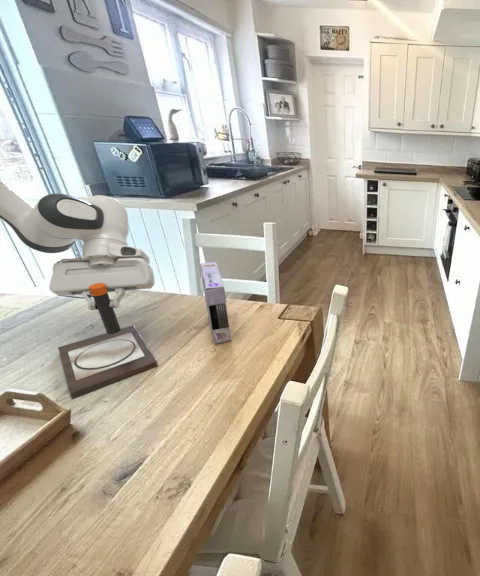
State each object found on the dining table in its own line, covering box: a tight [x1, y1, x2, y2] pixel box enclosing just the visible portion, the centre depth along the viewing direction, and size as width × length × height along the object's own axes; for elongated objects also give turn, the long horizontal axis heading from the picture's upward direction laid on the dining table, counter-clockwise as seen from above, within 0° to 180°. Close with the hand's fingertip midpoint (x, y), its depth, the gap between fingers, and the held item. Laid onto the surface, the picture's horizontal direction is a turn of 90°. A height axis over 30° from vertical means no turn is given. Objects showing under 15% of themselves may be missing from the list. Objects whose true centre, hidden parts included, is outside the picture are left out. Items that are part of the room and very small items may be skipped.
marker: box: [89, 283, 122, 334], centre depth 79 cm, size 3×3×13 cm
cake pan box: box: [199, 261, 232, 345], centre depth 93 cm, size 19×5×18 cm, turn 31°
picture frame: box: [57, 324, 159, 399], centre depth 81 cm, size 22×16×2 cm
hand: (104, 308), depth 78 cm, fingers closed on marker, 3 cm apart
